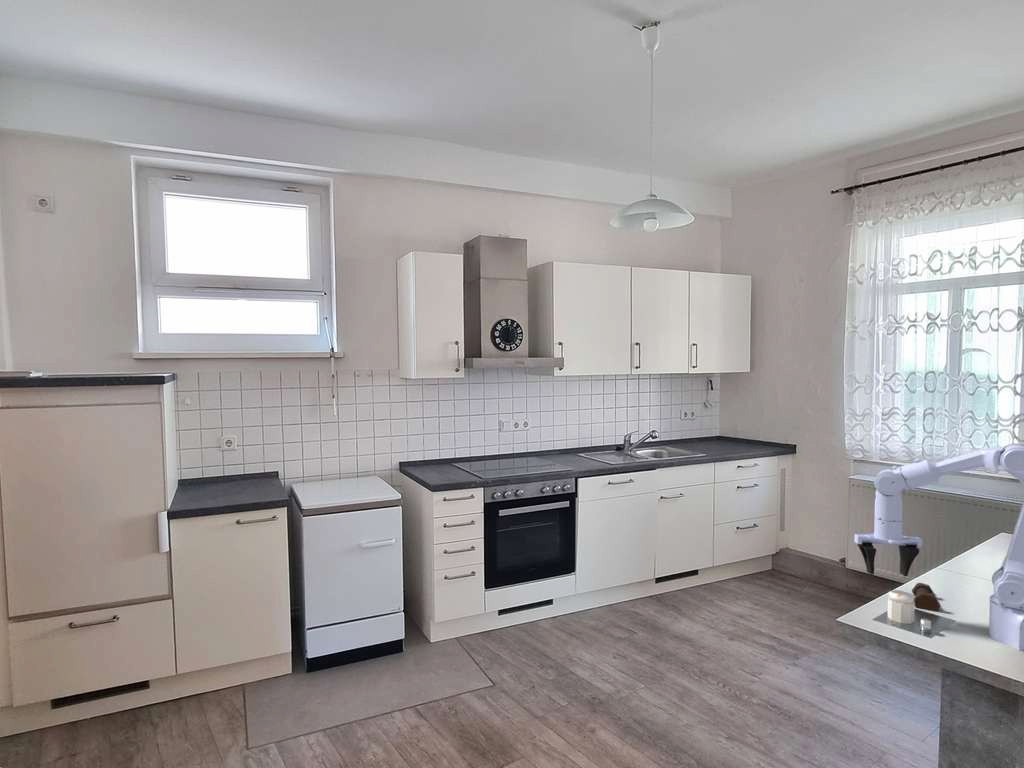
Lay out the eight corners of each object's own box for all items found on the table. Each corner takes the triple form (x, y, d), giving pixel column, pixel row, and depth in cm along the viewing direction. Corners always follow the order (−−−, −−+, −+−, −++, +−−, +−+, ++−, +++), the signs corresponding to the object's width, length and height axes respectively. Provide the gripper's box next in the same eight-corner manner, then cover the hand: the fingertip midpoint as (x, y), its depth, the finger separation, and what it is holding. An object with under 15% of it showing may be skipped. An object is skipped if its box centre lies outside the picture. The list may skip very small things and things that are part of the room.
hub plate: (899, 608, 149) (899, 594, 149) (955, 624, 139) (956, 610, 139) (871, 623, 139) (872, 609, 139) (930, 642, 129) (931, 626, 129)
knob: (893, 613, 143) (893, 588, 143) (916, 620, 139) (917, 594, 139) (884, 618, 140) (885, 592, 140) (908, 625, 136) (909, 599, 136)
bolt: (924, 602, 158) (929, 620, 145) (905, 590, 160) (908, 606, 147) (938, 586, 156) (944, 602, 143) (918, 573, 158) (923, 588, 146)
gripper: (863, 521, 141) (862, 577, 141) (929, 524, 138) (928, 581, 139) (851, 514, 147) (850, 568, 148) (913, 517, 145) (912, 571, 146)
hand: (887, 573), depth 144 cm, fingers open, 7 cm apart
